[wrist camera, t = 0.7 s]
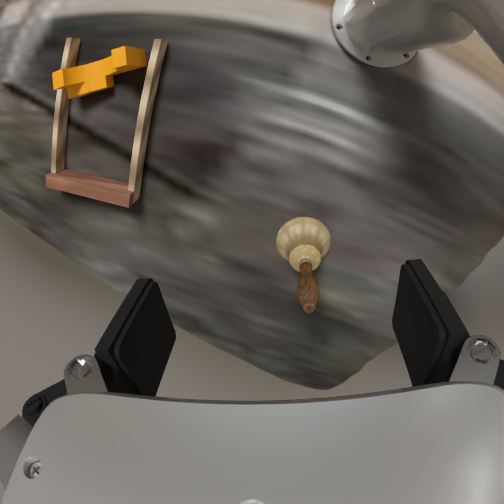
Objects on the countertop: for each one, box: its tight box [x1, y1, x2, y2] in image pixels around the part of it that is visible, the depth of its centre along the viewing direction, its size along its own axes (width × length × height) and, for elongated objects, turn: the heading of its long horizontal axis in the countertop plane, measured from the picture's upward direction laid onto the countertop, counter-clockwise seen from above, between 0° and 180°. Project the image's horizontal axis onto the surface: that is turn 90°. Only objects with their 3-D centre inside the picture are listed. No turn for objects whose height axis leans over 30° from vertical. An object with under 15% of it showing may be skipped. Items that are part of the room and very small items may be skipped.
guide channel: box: [46, 38, 168, 208], centre depth 37 cm, size 24×16×4 cm, turn 165°
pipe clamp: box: [52, 46, 147, 99], centre depth 33 cm, size 12×4×6 cm, turn 95°
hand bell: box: [276, 217, 331, 313], centre depth 40 cm, size 8×8×16 cm
